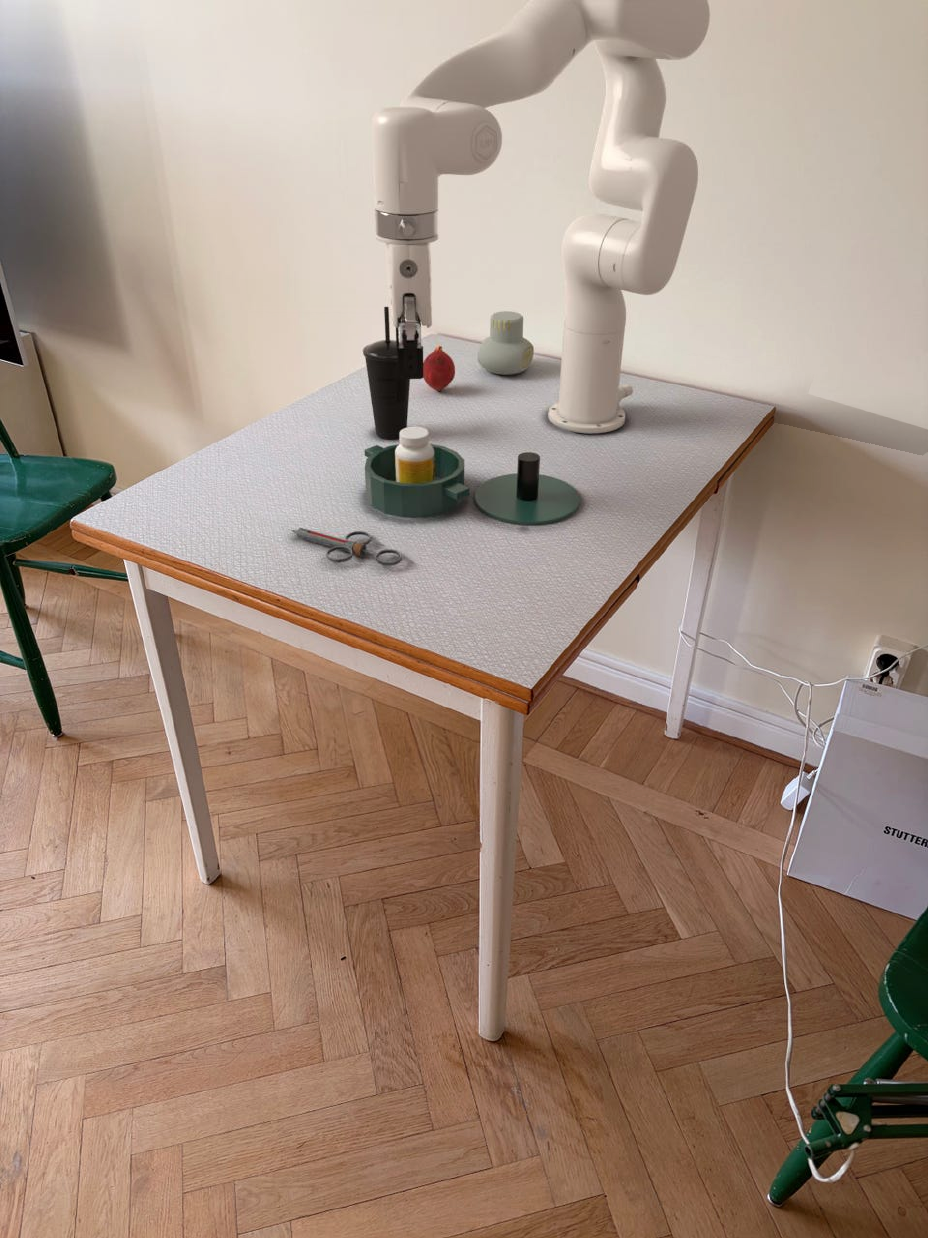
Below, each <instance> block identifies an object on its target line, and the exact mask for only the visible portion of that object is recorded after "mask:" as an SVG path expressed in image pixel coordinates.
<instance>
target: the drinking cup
mask: <svg viewBox="0 0 928 1238" xmlns="http://www.w3.org/2000/svg"><path fill="white" fill-rule="evenodd" d="M389 309H390V308H389V306H383V313H384V314H383V315H384V316H383V317H384V337H385V339H381V340H377V341H375V342H373V343H370V344H368V345H366V346H364V347H363V348H362V355H363V356H364V359H365V365H366V372H367V379H368V385H369V387H368V388H369V392H370V401H371V406H372V408H371V409H372V414H373V421H374V422H373V423H374V428H375V434H376V437H378V438H379V439H383V440H387V441H388V440H389V441H393V440H399V439H400V431H401V430H402V429H404V428H407V427H408V417H409V416H408V414H409V401H410V400H409V399H410V398H409V397H410V386H411V385H410V383H411V379H399V378H398V364H397V351H396V339H391V335H390V334H391V333H390V332H391V331H390V310H389Z"/></svg>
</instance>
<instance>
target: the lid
mask: <svg viewBox="0 0 928 1238" xmlns="http://www.w3.org/2000/svg"><path fill="white" fill-rule="evenodd" d="M540 467H541V456H540V455H539V454H538V453H536V452H532V451H525V452H521V453H519V454H518V456H517V467H516V468H517V470H516V471H517V472H516V473H507V474H502V475H498V476H494V477H492V478H489V479H488V480H485V481H484V482H483V483H481V484H480V485H479V486H478V487H477V489H476V490H475V492H474V504H475V505H476V507H477V509H479V510H480V512H482V513H483V514H484V515H486V516H487V517H490V518H491V519H494V520H497V521H500V522H504V523H507V524H512V525H519V526H521V525H522V526H540V525H541V526H542V525H547V524H553V523H556V522H560V521H563V520H565V519H567V518H569V517H571V516H572V515H574V514H575V512H577V510H578V509H579V507H580V504H581V503H580V502H581V497H580V494H579V492H578V490H576V488H575V487H574V486H573V485H571V484H569V483H568V482H566V481H564V480H562V479H560V478H557V477H554V476H551V475H546V474H540Z"/></svg>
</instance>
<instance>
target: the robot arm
mask: <svg viewBox="0 0 928 1238" xmlns="http://www.w3.org/2000/svg"><path fill="white" fill-rule="evenodd" d="M710 14H711V12H710V5H709V1H708V0H528V1H527V2H526V3H525V4H524V5H523V6H522V8H521V9H520V10H518V12H517V13H516V14H515V15H514V16H513V17H512V18H511V19H510V20H509V21H508V22H507V23H506V24H505V25H504V26H503V27H502V28H501V29H499V30H498V31H496V32H493V33H491V34H490V35H487V36H486V37H483V38H482V39H480V40H478V41H476V42H474V43H473V44H471V45H469V46H467V47H466V48H464V49H462V50H460V51H458V52H456V53H455V54H453V55H450V56H448V57H447V58H446V59H443V61H441V62H440V63H438V64H437V65H436V66H434V67H433V68H432V69H430V71H428V72H427V73H425V75H424V76H423V77H422V78H421V79H420V80H419V81H418V82H417V83H416V85H414V87H412V89H411V90H410V91H409V92H408V93H407V94H406V95H405V97H404V98H403V99H402V101H401V102H400V104H399V105H398V106H391V107H390V106H389V107H384V108H382V109H379V110H377V112H376V113H374V115H373V118H372V120H371V121H372V122H371V132H372V133H371V137H372V138H371V139H372V161H373V162H372V165H373V168H372V169H373V189H374V190H373V192H374V194H373V195H374V220H375V224H374V225H375V239H376V240H377V241H379V242H381V243H383V244H385V246H386V247H385V248H386V249H385V251H386V270H387V272H386V273H387V275H386V276H387V290H388V297H389V298H388V299H389V306H390V314H391V319H392V326H394V327H395V340H396V351H397V364H398V378H399V379H410V380H422V379H424V378H423V363H424V346H423V345H422V327H423V326H424V327H425V326H426V328H427V329H430V328H431V327H432V325H433V310H432V309H433V307H432V306H433V305H432V304H433V303H432V255H431V243H434V242H436V241H437V240H439V177H440V176H441V175H451V176H452V175H453V176H455V175H456V176H474V175H477V174H478V175H479V174H481V173H482V172H485V171H486V170H488V169H489V168H490V167H492V165H493V164H494V163H495V162H496V160H497V158H499V155H500V153H501V149H502V146H503V145H502V144H503V133H502V128H501V125H500V123H499V121H498V119H497V117H495V116H494V114H493V113H492V112H491V111H489V110H488V109H486V108H489V107H494V106H497V105H502V104H506V103H512V102H516V101H521V100H524V99H527V98H530V97H532V96H535V95H539V94H540V93H543V92H544V91H545V90H547V89H549V87H550V86H552V85H553V83H554V82H555V81H556V79H557V78H559V77H560V76H561V74H562V73H563V72H564V71H565V69H566V68H567V67H568V66H569V65H570V64H572V62H573V61H574V60H575V59H576V58H577V57H578V56H579V54H580V53H582V51H583V50H584V49H585V48H586V47H587V46H588V45H589V44H590V43H593V46H594V48H595V50H596V52H597V55H598V57H599V60H600V63H601V66H602V69H603V73H604V78H605V99H604V104H603V109H602V110H603V111H602V114H601V120H600V123H599V128H598V132H597V135H596V141H595V145H594V149H593V154H592V157H591V163H590V169H589V174H588V176H589V177H588V186H589V187H588V189H589V191H590V193H591V195H592V196H593V197H594V198H595V199H596V200H598V201H599V202H601V203H605V204H606V205H610V206H614V207H619V208H624V209H630V210H635V211H639V212H642V215H641V221H640V220H639V221H638V220H634V219H630V218H627V217H620V216H616V215H610V214H606V213H598V212H597V213H586V214H583V215H581V216H579V217H577V218H575V219H574V220H573V221H572V222H571V223H570V224H569V225H568V227H567V228H566V230H565V233H564V235H563V238H562V243H561V260H562V261H561V262H562V269H563V277H564V316H563V317H564V318H563V331H562V345H561V361H560V374H559V375H560V376H559V391H558V392H559V393H558V402H555V403H554V404H552V405H551V406H550V407H549V408H548V413H547V415H548V420H549V422H550V423H552V425H554V426H555V427H558V428H560V429H563V430H566V431H568V432H572V433H578V434H590V435H591V434H602V433H603V434H604V433H608V432H612V431H615V430H618V429H620V428H621V427H622V426H623V425H624V424H625V422H626V412H625V410H624V409H623V408H621V406H620V402H622V400H623V399H625V398H628V397H630V396H631V395H632V394H633V392H634V389H633V386H631V385H630V384H625V385H622V386H620V379H621V370H622V360H623V350H624V342H625V332H626V331H625V330H626V323H627V307H626V306H627V305H626V301H625V297H624V294H623V291H624V292H627V293H632V294H637V295H643V296H652V295H655V294H658V293H660V292H661V291H662V290H664V288H665V287H666V286H667V285H668V284H669V282H670V280H671V279H672V276H673V273H674V271H675V269H676V266H677V263H678V259H679V255H680V252H681V250H682V249H681V248H682V244H683V240H684V237H685V234H686V231H687V226H688V223H689V219H690V216H691V212H692V208H693V204H694V200H695V197H696V192H697V188H698V183H699V182H698V181H699V166H698V165H699V164H698V160H697V157H696V155H695V152H694V150H692V148H691V147H690V146H689V145H688V144H686V143H685V142H682V141H679V140H676V139H671V138H664V137H660V135H661V133H660V132H661V128H662V124H663V119H664V114H665V111H666V107H667V106H666V105H667V88H666V83H665V80H664V79H665V78H664V75H663V73H662V71H661V68H660V65H659V63H658V61H657V60H666V61H680V60H684V59H687V58H689V57H691V56H692V55H693V54H695V53H696V52H697V50H699V49H700V47H701V45H702V44H703V42H704V41H705V38H706V36H707V34H708V30H709V26H710V18H711V17H710V16H711V15H710Z"/></svg>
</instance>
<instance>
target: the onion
mask: <svg viewBox="0 0 928 1238" xmlns="http://www.w3.org/2000/svg"><path fill="white" fill-rule="evenodd" d="M455 375H456V365H455V362H454V359H452V357H451V356H450V355H449V354H448V353H447V352H445V351H443V346H441V345H436V346H435V349H434V351H433V352H431V353H430V354H428V355H427V356H426V357H425V359H423V378H422V379H423V380H424V382H425V383H426V384H427V386H429V387H430V388H432V389H433V390H434V391H435V392H441V391H443V390H444V389H445V388H447V387H448V386H449V385H450V384H451V383H452V382H453V380H454V379H455Z"/></svg>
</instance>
